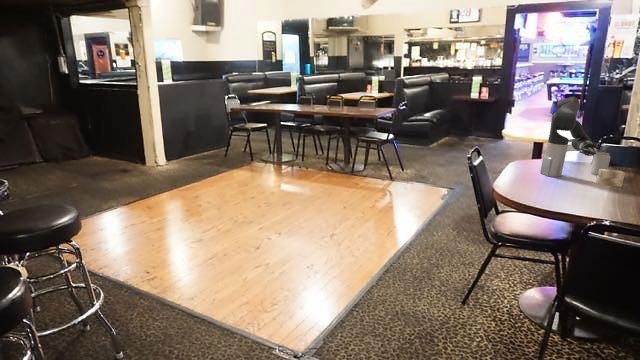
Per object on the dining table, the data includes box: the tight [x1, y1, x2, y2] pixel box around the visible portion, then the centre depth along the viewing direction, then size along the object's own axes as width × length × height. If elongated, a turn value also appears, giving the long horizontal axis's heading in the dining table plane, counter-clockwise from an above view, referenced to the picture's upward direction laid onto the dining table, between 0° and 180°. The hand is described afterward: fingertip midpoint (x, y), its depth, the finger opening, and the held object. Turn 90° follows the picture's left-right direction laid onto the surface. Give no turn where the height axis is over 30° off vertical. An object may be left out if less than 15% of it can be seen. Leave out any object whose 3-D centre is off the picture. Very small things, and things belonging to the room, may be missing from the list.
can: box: [589, 151, 611, 177], centre depth 224 cm, size 8×8×12 cm
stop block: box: [595, 169, 626, 187], centre depth 207 cm, size 10×4×7 cm, turn 71°
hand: (596, 155), depth 232 cm, fingers closed
